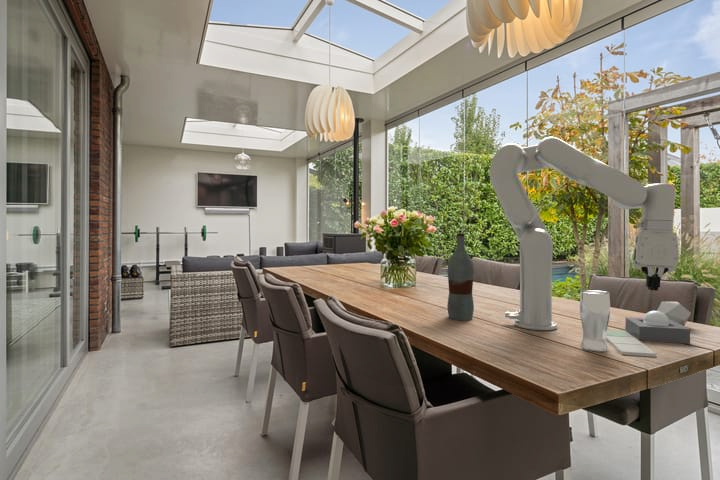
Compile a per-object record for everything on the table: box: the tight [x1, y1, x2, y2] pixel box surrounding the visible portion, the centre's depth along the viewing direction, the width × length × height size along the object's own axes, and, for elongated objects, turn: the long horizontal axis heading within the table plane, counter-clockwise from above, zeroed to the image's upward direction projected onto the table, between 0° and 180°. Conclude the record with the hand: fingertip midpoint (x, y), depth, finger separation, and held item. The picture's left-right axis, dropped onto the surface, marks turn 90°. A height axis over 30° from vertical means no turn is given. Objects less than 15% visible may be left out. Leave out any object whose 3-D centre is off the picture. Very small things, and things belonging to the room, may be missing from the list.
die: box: [656, 301, 692, 327], centre depth 132 cm, size 8×9×10 cm
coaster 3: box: [612, 343, 657, 358], centre depth 106 cm, size 8×8×1 cm
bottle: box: [446, 232, 475, 321], centre depth 145 cm, size 9×9×30 cm
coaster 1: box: [606, 329, 634, 337], centre depth 121 cm, size 8×8×1 cm
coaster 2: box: [606, 336, 645, 347], centre depth 113 cm, size 8×8×1 cm
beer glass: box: [579, 289, 611, 353], centre depth 108 cm, size 7×7×15 cm
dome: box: [643, 310, 669, 326], centre depth 119 cm, size 6×6×6 cm
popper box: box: [624, 316, 691, 345], centre depth 119 cm, size 12×12×4 cm
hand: (652, 289), depth 119 cm, fingers closed
